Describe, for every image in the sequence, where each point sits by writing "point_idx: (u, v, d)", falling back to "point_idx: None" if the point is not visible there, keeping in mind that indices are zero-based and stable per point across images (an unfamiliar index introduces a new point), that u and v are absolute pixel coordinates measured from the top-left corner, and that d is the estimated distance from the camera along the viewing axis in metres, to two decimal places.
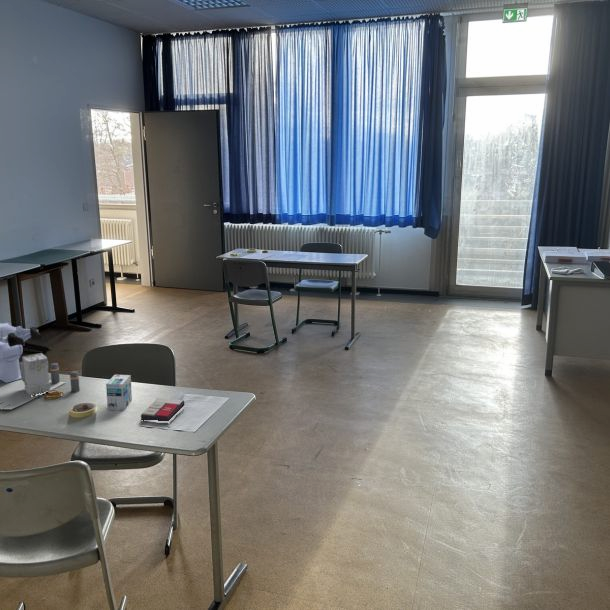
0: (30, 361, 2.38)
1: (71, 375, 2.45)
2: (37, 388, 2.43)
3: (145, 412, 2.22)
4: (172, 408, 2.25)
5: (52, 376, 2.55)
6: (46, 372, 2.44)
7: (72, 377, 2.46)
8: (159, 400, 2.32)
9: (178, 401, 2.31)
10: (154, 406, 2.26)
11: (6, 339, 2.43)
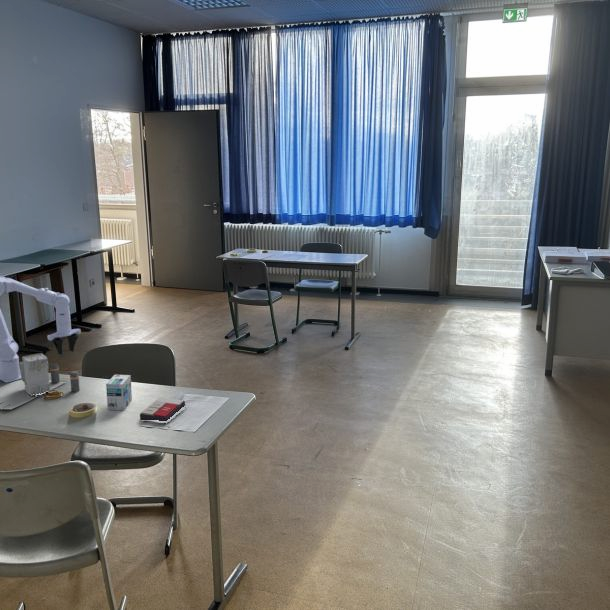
0: (30, 361, 2.38)
1: (71, 375, 2.45)
2: (37, 388, 2.43)
3: (144, 411, 2.22)
4: (171, 408, 2.25)
5: (52, 376, 2.55)
6: (46, 372, 2.44)
7: (72, 377, 2.46)
8: (160, 400, 2.32)
9: (178, 401, 2.31)
10: (154, 405, 2.27)
11: None
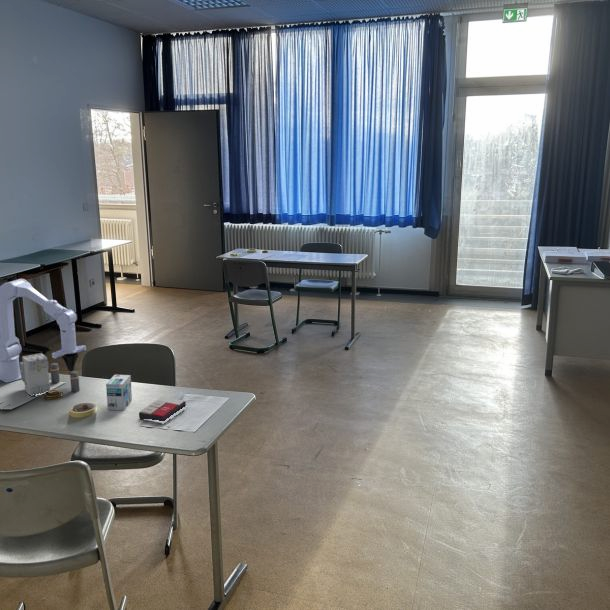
0: (30, 361, 2.38)
1: (71, 375, 2.45)
2: (37, 388, 2.43)
3: (143, 410, 2.23)
4: (170, 408, 2.25)
5: (52, 376, 2.55)
6: (46, 372, 2.44)
7: (72, 377, 2.46)
8: (161, 399, 2.33)
9: (179, 401, 2.31)
10: (154, 405, 2.28)
11: None
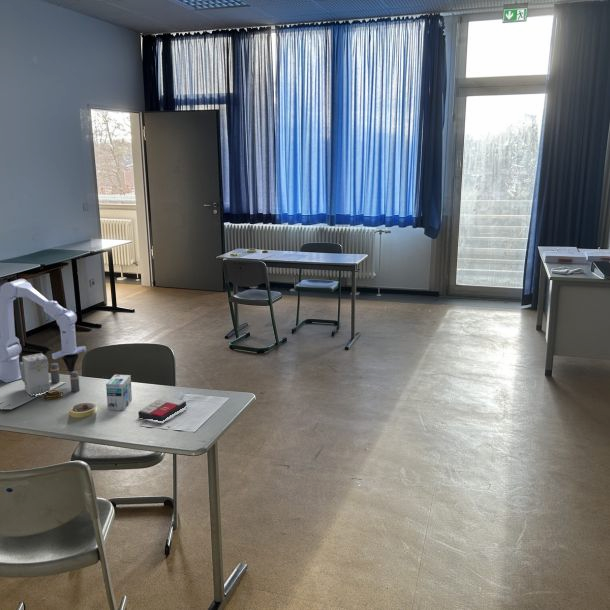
0: (30, 361, 2.38)
1: (71, 375, 2.45)
2: (37, 388, 2.43)
3: (143, 409, 2.24)
4: (169, 408, 2.25)
5: (52, 376, 2.55)
6: (46, 372, 2.44)
7: (72, 377, 2.46)
8: (162, 399, 2.33)
9: (179, 401, 2.31)
10: (154, 404, 2.28)
11: None
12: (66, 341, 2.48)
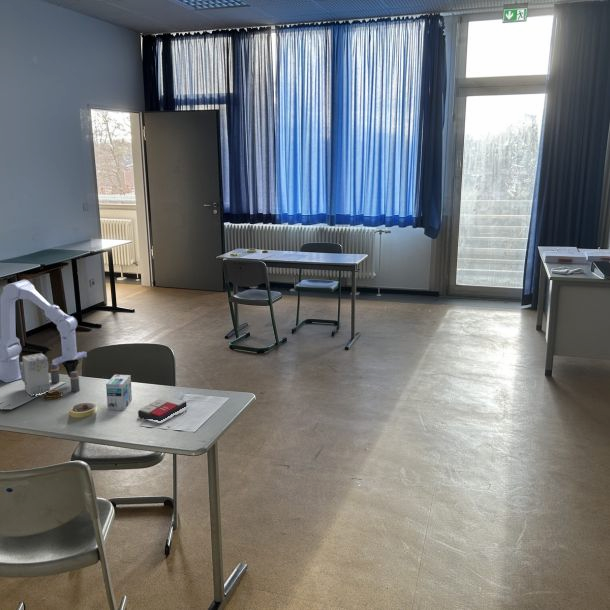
0: (30, 361, 2.38)
1: (71, 375, 2.45)
2: (37, 388, 2.43)
3: (142, 409, 2.24)
4: (169, 408, 2.25)
5: (52, 376, 2.55)
6: (46, 372, 2.44)
7: (72, 377, 2.46)
8: (163, 398, 2.33)
9: (180, 401, 2.31)
10: (154, 404, 2.28)
11: None
12: (66, 347, 2.48)
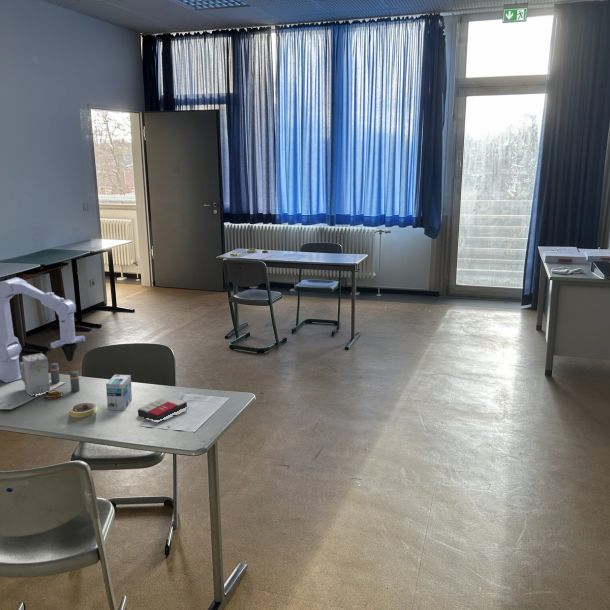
0: (30, 361, 2.38)
1: (71, 375, 2.45)
2: (37, 388, 2.43)
3: (142, 408, 2.25)
4: (168, 408, 2.25)
5: (52, 376, 2.55)
6: (46, 372, 2.44)
7: (72, 377, 2.46)
8: (165, 398, 2.34)
9: (180, 402, 2.31)
10: (155, 403, 2.29)
11: None
12: (65, 330, 2.48)
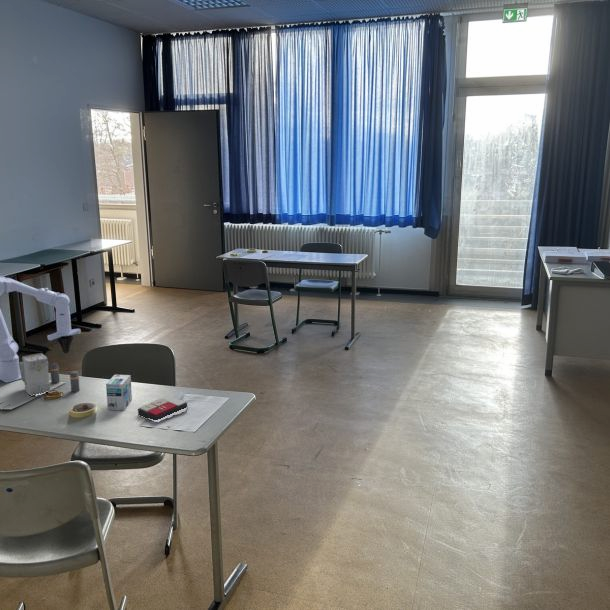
0: (30, 361, 2.38)
1: (71, 375, 2.45)
2: (37, 388, 2.43)
3: (142, 407, 2.26)
4: (167, 408, 2.25)
5: (52, 376, 2.55)
6: (46, 372, 2.44)
7: (72, 378, 2.45)
8: (166, 398, 2.34)
9: (180, 402, 2.30)
10: (155, 403, 2.29)
11: None
12: (64, 323, 2.58)
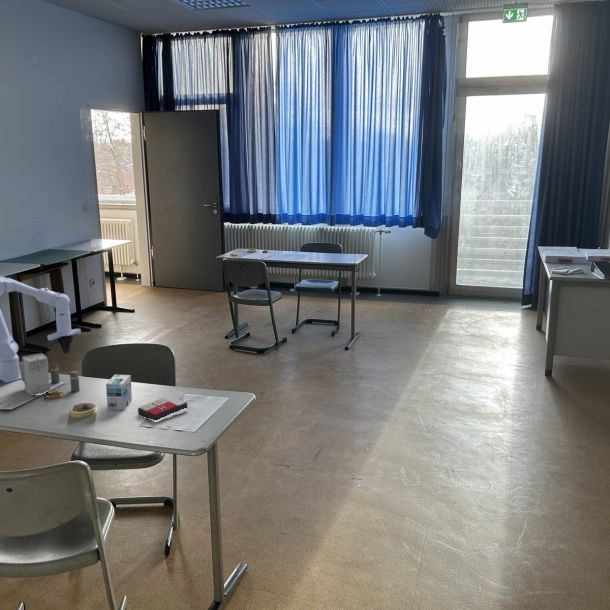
0: (30, 361, 2.38)
1: (71, 375, 2.45)
2: (37, 388, 2.43)
3: (142, 406, 2.27)
4: (167, 408, 2.25)
5: (52, 376, 2.55)
6: (46, 372, 2.44)
7: (72, 377, 2.46)
8: (166, 398, 2.34)
9: (180, 402, 2.30)
10: (155, 402, 2.30)
11: None
12: (64, 323, 2.58)
